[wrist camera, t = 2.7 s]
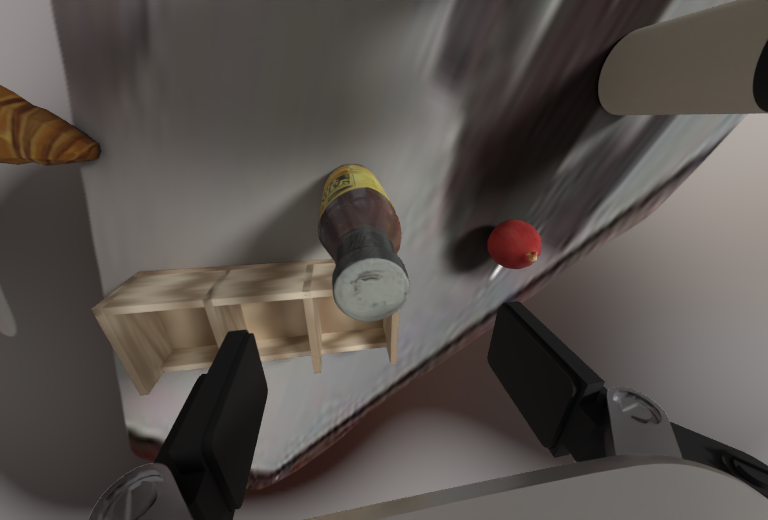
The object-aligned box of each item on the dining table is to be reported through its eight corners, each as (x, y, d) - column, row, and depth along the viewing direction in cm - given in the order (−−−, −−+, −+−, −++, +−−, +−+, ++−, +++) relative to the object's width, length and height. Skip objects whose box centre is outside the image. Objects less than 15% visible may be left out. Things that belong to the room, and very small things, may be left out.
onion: (524, 234, 38) (568, 260, 31) (489, 261, 39) (524, 292, 32) (505, 203, 35) (549, 224, 28) (468, 232, 36) (501, 260, 29)
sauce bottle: (336, 152, 29) (341, 200, 12) (388, 177, 31) (459, 250, 14) (314, 207, 32) (292, 318, 14) (364, 228, 34) (399, 346, 16)
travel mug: (584, 112, 32) (836, 106, 16) (614, 24, 28) (974, -98, 12) (642, 117, 33) (927, 116, 17) (677, 33, 30) (1074, -66, 14)
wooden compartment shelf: (388, 255, 36) (400, 284, 30) (387, 326, 41) (396, 363, 35) (138, 272, 31) (91, 309, 25) (172, 349, 37) (140, 395, 31)
